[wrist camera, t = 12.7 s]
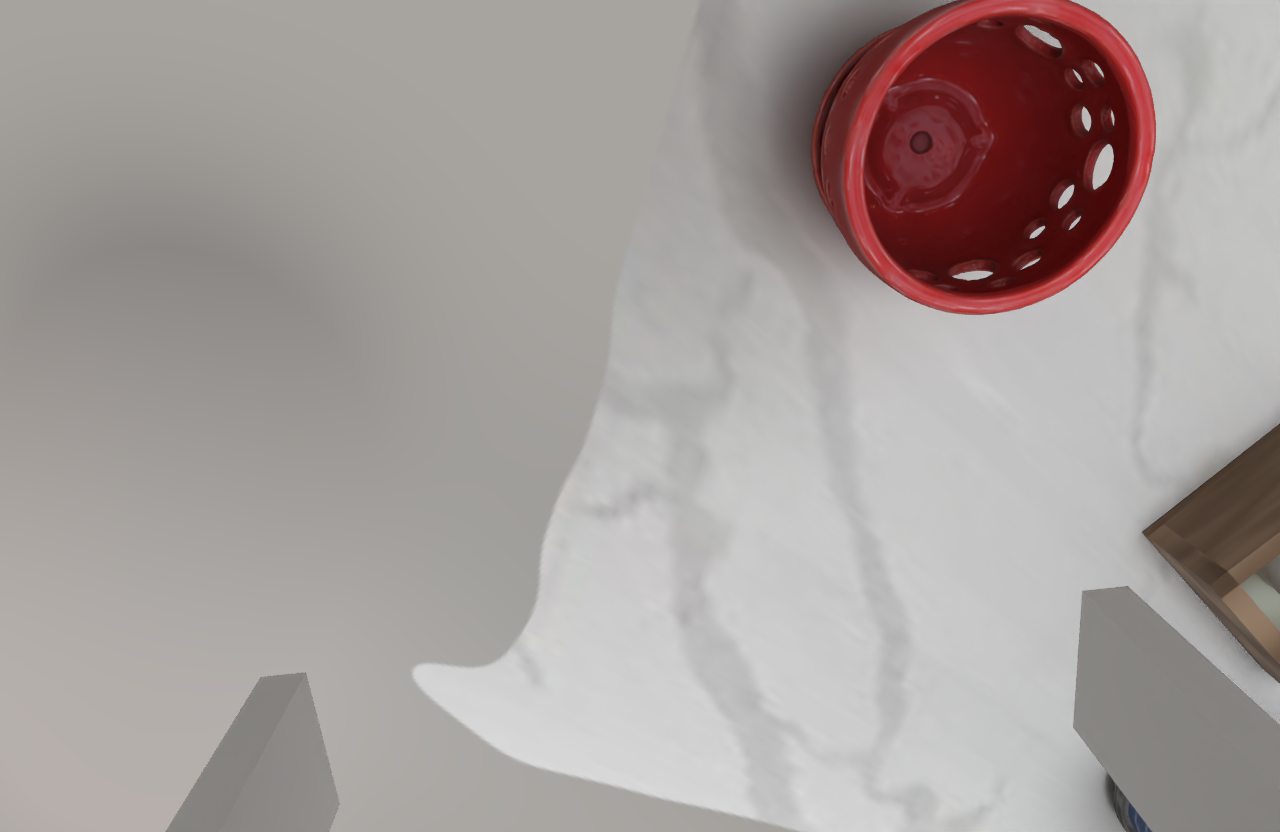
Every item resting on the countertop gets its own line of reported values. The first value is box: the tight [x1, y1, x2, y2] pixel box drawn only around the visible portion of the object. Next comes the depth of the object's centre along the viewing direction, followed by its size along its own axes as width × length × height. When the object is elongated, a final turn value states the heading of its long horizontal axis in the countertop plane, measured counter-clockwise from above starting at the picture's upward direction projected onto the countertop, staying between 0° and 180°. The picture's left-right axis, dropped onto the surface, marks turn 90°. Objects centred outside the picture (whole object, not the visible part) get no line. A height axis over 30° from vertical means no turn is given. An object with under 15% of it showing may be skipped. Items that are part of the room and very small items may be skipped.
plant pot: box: [811, 0, 1156, 315], centre depth 42 cm, size 13×13×12 cm
